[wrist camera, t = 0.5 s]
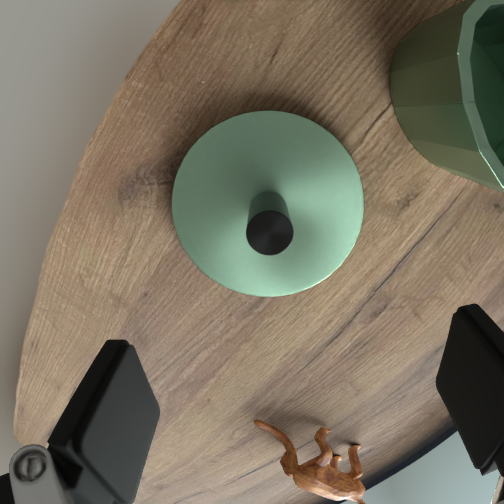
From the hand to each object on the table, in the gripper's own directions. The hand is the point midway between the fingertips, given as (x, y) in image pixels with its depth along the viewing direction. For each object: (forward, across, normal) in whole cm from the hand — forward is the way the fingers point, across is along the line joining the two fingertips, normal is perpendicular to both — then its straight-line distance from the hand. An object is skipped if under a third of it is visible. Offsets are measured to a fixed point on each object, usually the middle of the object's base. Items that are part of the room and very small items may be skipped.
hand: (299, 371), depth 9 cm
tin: (+16, -15, -9) cm, 24 cm away
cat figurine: (+16, -2, +27) cm, 32 cm away
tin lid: (+16, +1, -1) cm, 16 cm away
